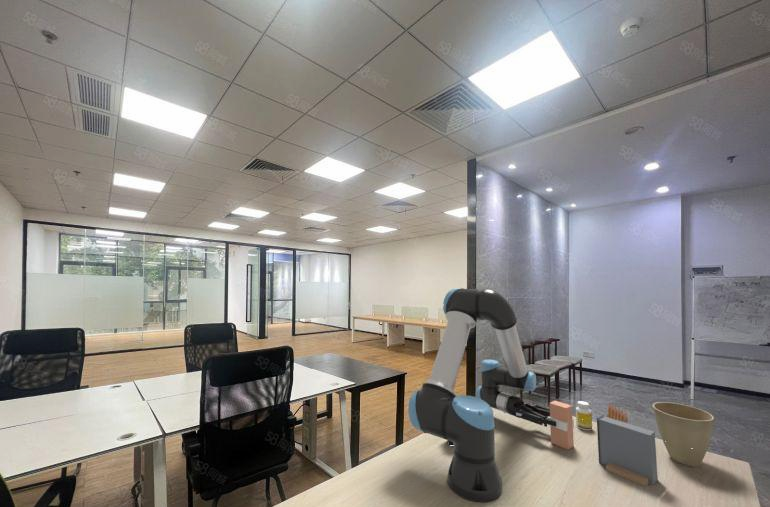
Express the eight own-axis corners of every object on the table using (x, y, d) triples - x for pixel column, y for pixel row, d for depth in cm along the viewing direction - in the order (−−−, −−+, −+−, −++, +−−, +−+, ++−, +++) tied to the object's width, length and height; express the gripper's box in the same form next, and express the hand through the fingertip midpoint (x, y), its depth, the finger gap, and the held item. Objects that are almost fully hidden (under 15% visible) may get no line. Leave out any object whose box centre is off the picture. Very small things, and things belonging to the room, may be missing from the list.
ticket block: (595, 466, 103) (593, 420, 104) (607, 457, 108) (605, 413, 109) (650, 489, 92) (647, 437, 93) (660, 477, 97) (657, 428, 98)
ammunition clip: (631, 448, 114) (629, 413, 115) (626, 448, 114) (624, 413, 115) (611, 434, 124) (610, 402, 125) (606, 434, 124) (605, 401, 125)
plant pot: (646, 455, 109) (643, 406, 111) (668, 445, 116) (665, 399, 117) (705, 479, 96) (701, 424, 97) (726, 466, 103) (722, 414, 104)
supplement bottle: (594, 431, 126) (593, 405, 127) (579, 430, 127) (578, 404, 128) (588, 425, 132) (587, 400, 132) (574, 424, 133) (573, 399, 133)
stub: (551, 442, 117) (549, 402, 118) (556, 439, 120) (555, 400, 121) (568, 449, 112) (566, 408, 113) (573, 446, 115) (571, 405, 116)
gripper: (522, 409, 138) (581, 429, 119) (498, 419, 128) (558, 443, 109) (522, 390, 138) (580, 408, 119) (497, 399, 128) (557, 420, 109)
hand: (569, 425), depth 114 cm, fingers closed on stub, 4 cm apart
